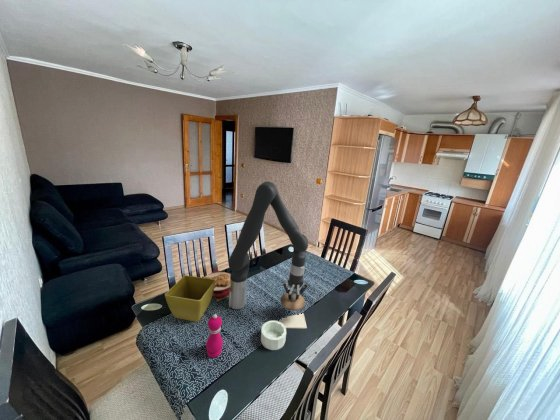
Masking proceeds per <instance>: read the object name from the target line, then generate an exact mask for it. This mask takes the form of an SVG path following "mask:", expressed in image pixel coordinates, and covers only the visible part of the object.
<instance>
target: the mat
mask: <svg viewBox="0 0 560 420" xmlns="http://www.w3.org/2000/svg"><path fill="white" fill-rule="evenodd" d="M301 313H302V314H301ZM301 313H298V314H299V315H297V314H292V315H287V316H286V317H287V318H283V317H281V318H282V319H283V320H280V321H278V322H281V323H282V324H283V325H284V326H285V327H286V329H303V330H304V329H308V327H307V323H306V318H305V314H304V312H301Z"/></svg>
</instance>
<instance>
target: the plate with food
mask: <svg viewBox="0 0 560 420" xmlns="http://www.w3.org/2000/svg"><path fill="white" fill-rule="evenodd" d="M230 275H231V272H225V271H222V270H218V269H215V270H213V271H211V272H210V273H208V274H206V275H204V276H200V278H207V279H214V280H215V286H214V291H213V295H212V297H213V296H217V297H223V296H225V294H227V293H228V292H230Z"/></svg>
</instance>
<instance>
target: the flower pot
mask: <svg viewBox="0 0 560 420" xmlns="http://www.w3.org/2000/svg"><path fill="white" fill-rule="evenodd" d="M200 277H201V276H200ZM200 277H199V276H193V275H183V276H182V277H181V278H180V279H179V280H178V281H177V282H175V284H174V285H173V286H172V287H170V288H169V289H168V291H167V292H165V293H164V297H165V301H166V304H167V307H168V308H169V310H170V312H171V314H172V316H173V317H174V318H176V319H180V320H185V321H191V322H193V323H194V322H195V323H197V322H199V321H201V319H202V317H203V315H204V314H205V312H206V311H207V309H208V307H210V304H211V301H212V298H213V291H214V286H215V280H214V279H207V278H202V277H201V278H200Z"/></svg>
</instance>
